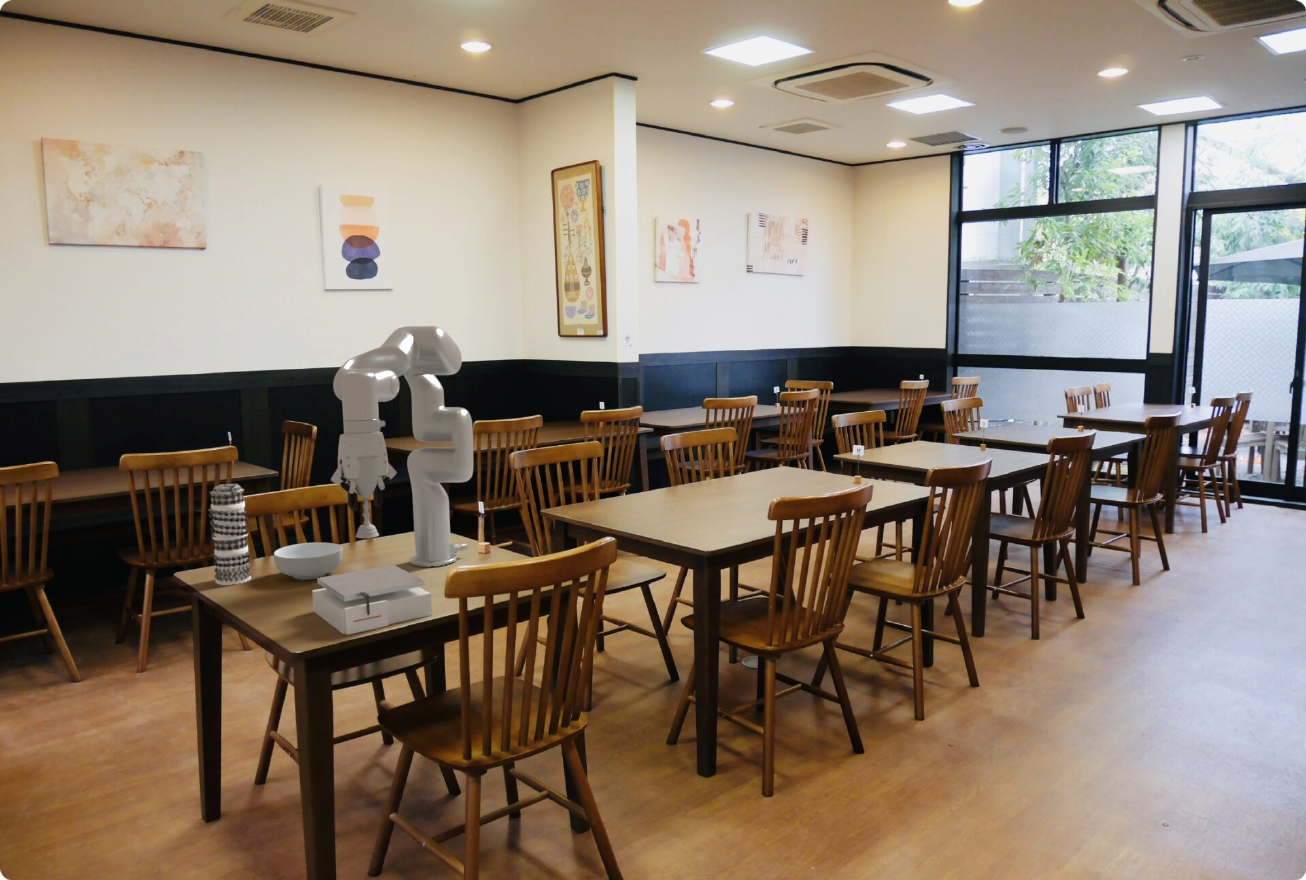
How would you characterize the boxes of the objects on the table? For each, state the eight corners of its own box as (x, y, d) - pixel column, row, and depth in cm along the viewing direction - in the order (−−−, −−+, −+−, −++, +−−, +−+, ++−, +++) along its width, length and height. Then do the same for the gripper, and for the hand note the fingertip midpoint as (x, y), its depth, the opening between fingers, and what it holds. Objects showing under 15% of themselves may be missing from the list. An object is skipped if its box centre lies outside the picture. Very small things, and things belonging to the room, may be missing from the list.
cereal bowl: (298, 588, 231) (296, 560, 230) (262, 578, 241) (260, 551, 240) (357, 573, 244) (355, 547, 243) (320, 564, 254) (318, 538, 254)
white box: (394, 588, 222) (393, 564, 222) (430, 609, 206) (429, 583, 205) (318, 603, 212) (317, 578, 211) (350, 626, 195) (348, 599, 194)
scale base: (397, 594, 224) (396, 572, 223) (433, 616, 207) (432, 591, 207) (313, 611, 212) (312, 587, 211) (345, 635, 195) (343, 609, 195)
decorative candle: (207, 581, 238) (200, 485, 235) (243, 573, 245) (236, 480, 242) (223, 587, 232) (215, 489, 229) (259, 579, 239) (252, 484, 236)
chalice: (390, 533, 210) (386, 454, 207) (371, 540, 203) (368, 458, 201) (363, 531, 212) (359, 453, 210) (344, 537, 206) (339, 457, 203)
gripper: (392, 423, 213) (396, 501, 215) (317, 429, 202) (322, 511, 205) (405, 425, 207) (409, 505, 209) (328, 432, 197) (333, 516, 199)
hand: (366, 507), depth 207 cm, fingers closed on chalice, 4 cm apart
